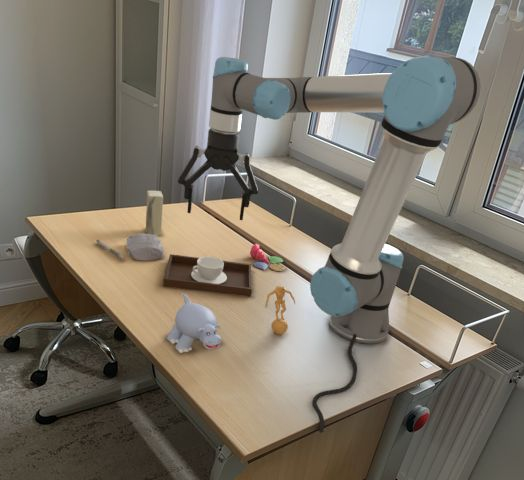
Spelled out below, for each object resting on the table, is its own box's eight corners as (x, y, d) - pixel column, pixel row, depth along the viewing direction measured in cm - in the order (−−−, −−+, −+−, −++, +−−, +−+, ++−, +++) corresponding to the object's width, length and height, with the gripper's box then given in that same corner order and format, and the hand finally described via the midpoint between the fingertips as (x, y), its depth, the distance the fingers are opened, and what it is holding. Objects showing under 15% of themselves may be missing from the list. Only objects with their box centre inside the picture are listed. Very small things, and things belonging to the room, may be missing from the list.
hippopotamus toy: (191, 367, 118) (195, 330, 112) (160, 332, 127) (162, 296, 122) (233, 356, 124) (239, 320, 118) (200, 323, 133) (204, 288, 128)
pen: (98, 242, 162) (98, 238, 161) (125, 261, 154) (125, 256, 154) (95, 243, 161) (94, 238, 160) (122, 262, 154) (122, 257, 153)
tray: (250, 296, 148) (251, 289, 147) (162, 286, 146) (163, 278, 144) (250, 271, 161) (251, 264, 160) (169, 261, 158) (170, 254, 157)
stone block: (132, 266, 156) (166, 259, 159) (128, 251, 153) (163, 243, 156) (125, 250, 165) (157, 243, 168) (121, 235, 162) (155, 228, 165)
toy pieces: (243, 265, 164) (245, 251, 161) (252, 251, 173) (254, 238, 170) (281, 274, 162) (284, 261, 160) (289, 260, 171) (291, 247, 169)
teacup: (217, 267, 159) (219, 253, 156) (232, 283, 152) (234, 268, 149) (185, 271, 154) (186, 255, 152) (199, 287, 147) (200, 272, 145)
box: (145, 229, 175) (146, 189, 168) (159, 229, 176) (160, 190, 169) (147, 236, 171) (148, 195, 164) (161, 236, 172) (163, 196, 165)
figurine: (267, 339, 131) (275, 296, 125) (256, 326, 136) (263, 283, 129) (296, 335, 135) (305, 292, 128) (284, 322, 139) (293, 280, 133)
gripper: (274, 134, 136) (262, 216, 147) (173, 119, 133) (168, 203, 145) (276, 141, 129) (262, 226, 141) (170, 125, 127) (165, 213, 139)
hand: (215, 215), depth 143 cm, fingers open, 13 cm apart
